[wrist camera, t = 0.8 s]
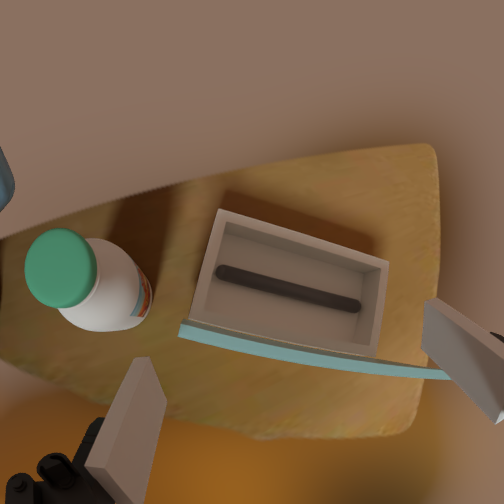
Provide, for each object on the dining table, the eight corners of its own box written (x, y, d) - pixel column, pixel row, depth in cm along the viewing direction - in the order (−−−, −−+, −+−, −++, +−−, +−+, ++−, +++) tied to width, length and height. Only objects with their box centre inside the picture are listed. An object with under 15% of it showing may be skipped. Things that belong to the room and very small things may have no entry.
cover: (183, 318, 30) (181, 326, 30) (180, 323, 18) (177, 336, 18) (378, 359, 33) (376, 365, 33) (454, 370, 21) (452, 379, 21)
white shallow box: (188, 318, 35) (188, 318, 30) (213, 222, 38) (218, 208, 33) (354, 354, 38) (375, 356, 33) (368, 268, 41) (389, 261, 36)
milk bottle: (137, 340, 33) (84, 361, 14) (81, 311, 32) (-14, 295, 13) (163, 281, 35) (141, 232, 16) (107, 253, 34) (39, 182, 15)
